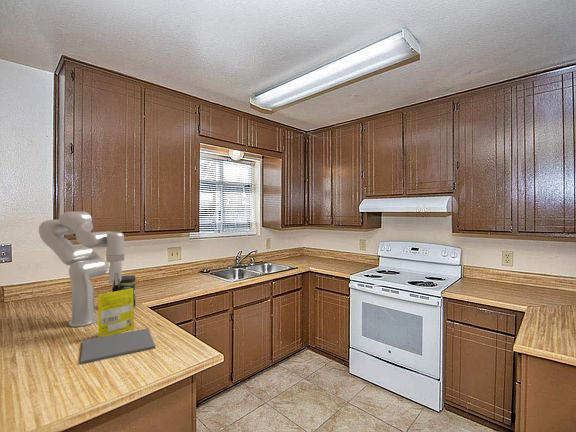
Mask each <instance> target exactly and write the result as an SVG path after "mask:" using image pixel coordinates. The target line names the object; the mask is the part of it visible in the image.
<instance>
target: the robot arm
mask: <svg viewBox="0 0 576 432" xmlns="http://www.w3.org/2000/svg"><path fill="white" fill-rule="evenodd" d="M92 222H93V217H92V215H91V214H90V213H89V212H88V211H65V212H63V213H62V214H60V216H59V218H58V219H49V220H45V221H43V222H41V223H40V225H39V227H38V233H39V237H40V239H41V241H42V242H43V243H44V244H45V245H46V246H47V247H48V248H50V249H51V250H52V251H53V253H55V254H56V256H57V257H58V259H59V260H60V261H61V262H62V263H63V264H64V265H66V266H69V268H68V275H69V279H70V284H71V320H69V321H68V324H67V325H68V327H73V328H75V327H76V328H78V327H79V328H80V327H86V326H89V325H93V324H95V323H97V322H99V319H98V316H96V315H95V286H94V284H93V282H92V281H91V279H93V278H97V277H101V276H103V275H105V274H106V273H107V272H108V281H109V284H112V288H111V289H112V290H111V292H115V291H120V287H119V281H120V282H121V276H123V275H122V272H123V271H122V270H123V269H122V268H123V267H122V266H123V263H122V262H124V261H125V235H124V233H123V232H120V231H94V232H92V231H93V228H94V225H93V223H92ZM67 235H68V236H69V235H75V239H76V241H77V242H78V243H79V244H81V246H80V245H79V246H77V245H74V244H73V243H72V241H70V240H69V239H68V238H66V237H65V236H67ZM63 236H64V237H63ZM105 247H106V248H105ZM98 248H105V249H106V251H105V252H106V260H105V259H104V258H103V256H102V255H101V254H100V253H99V252H98V251H97V250H96V249H98Z"/></svg>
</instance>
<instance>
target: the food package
mask: <svg viewBox="0 0 576 432" xmlns="http://www.w3.org/2000/svg"><path fill="white" fill-rule="evenodd" d="M97 299H98V301H97V304H98V307H97V308H98V313H97V314H98V316H97V317H98V337H103V336H109V335H114V334H120V333H125V332H129V331H132V330H134V328H135V327H134V326H135V323H134V322H135V319H134V317H135V316H134V315H135V312H134V307H135V306H134V305H133V288H131V289H126V290H120V291H115V292H112V291H111V292H105V293H100V294H98V297H97Z"/></svg>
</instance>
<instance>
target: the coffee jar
mask: <svg viewBox="0 0 576 432" xmlns="http://www.w3.org/2000/svg"><path fill="white" fill-rule="evenodd" d="M136 284H137V280H136V275H134V274H133V275H131V274H130V275H122V276H121V282H120V281H119V287H120V290H126V289H131V288H133V305H134V307H136V305H137V298H136Z"/></svg>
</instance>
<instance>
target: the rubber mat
mask: <svg viewBox="0 0 576 432" xmlns="http://www.w3.org/2000/svg"><path fill="white" fill-rule="evenodd" d="M152 349H156V345H155V342H154V340H153V337H152V335H151V331H150V329H149V328H142V329H137V330H133V331H132V330H130V331H125V332H122V333H118V334H114V335H109V336H103V337H99V336H98V337H93V338H88V339H83V340H82V348H81V355H80V365H84V364H88V363H92V362H97V361H98V362H99V361H102V360H107V359H111V358H116V357H120V356H126V355H130V354H135V353H139V352H143V351H144V352H145V351H148V350H152Z"/></svg>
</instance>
